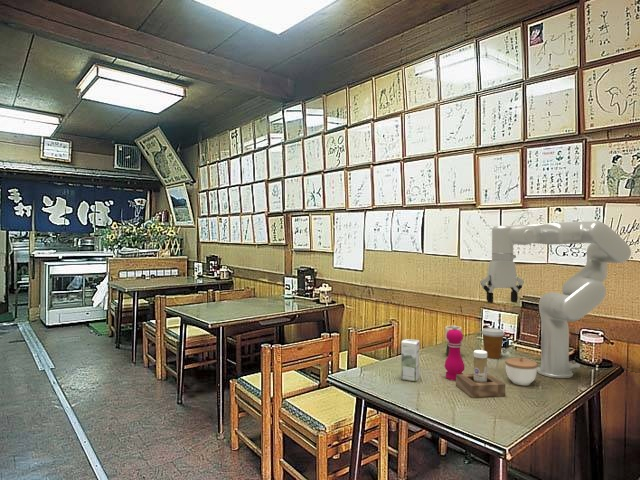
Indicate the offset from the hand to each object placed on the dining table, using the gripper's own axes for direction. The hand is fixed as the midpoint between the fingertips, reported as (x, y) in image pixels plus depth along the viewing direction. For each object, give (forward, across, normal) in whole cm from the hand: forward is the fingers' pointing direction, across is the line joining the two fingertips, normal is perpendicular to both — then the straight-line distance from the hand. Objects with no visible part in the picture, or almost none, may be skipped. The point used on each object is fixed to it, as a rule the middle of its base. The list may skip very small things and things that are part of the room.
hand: (502, 302), depth 168 cm
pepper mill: (+28, +19, 0) cm, 34 cm away
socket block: (+28, +16, +14) cm, 35 cm away
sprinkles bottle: (+28, +16, +14) cm, 35 cm away
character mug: (+28, +7, -28) cm, 41 cm away
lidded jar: (+28, -3, +8) cm, 30 cm away
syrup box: (+28, +36, -1) cm, 46 cm away
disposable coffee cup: (+28, -10, -25) cm, 39 cm away
